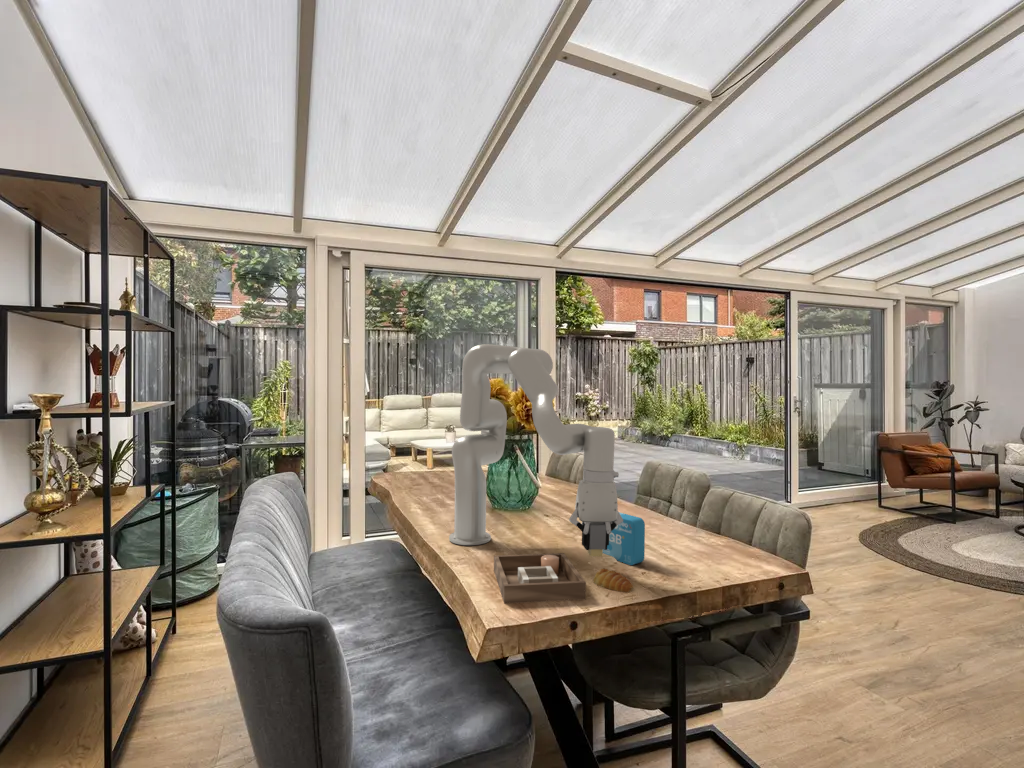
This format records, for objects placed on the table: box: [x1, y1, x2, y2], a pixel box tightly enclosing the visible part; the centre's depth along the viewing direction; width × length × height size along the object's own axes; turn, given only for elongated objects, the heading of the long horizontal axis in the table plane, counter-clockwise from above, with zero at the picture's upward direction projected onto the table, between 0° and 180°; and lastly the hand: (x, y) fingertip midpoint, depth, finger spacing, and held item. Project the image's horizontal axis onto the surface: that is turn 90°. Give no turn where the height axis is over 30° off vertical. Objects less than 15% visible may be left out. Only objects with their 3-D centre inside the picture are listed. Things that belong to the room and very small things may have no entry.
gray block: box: [586, 522, 606, 558], centre depth 136 cm, size 4×4×8 cm
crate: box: [493, 552, 587, 604], centre depth 127 cm, size 20×18×4 cm
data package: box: [603, 511, 646, 566], centre depth 147 cm, size 12×4×12 cm, turn 39°
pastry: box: [593, 568, 634, 593], centre depth 127 cm, size 9×7×4 cm
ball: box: [541, 555, 559, 576], centre depth 133 cm, size 4×4×4 cm
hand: (595, 547), depth 137 cm, fingers closed on gray block, 4 cm apart
